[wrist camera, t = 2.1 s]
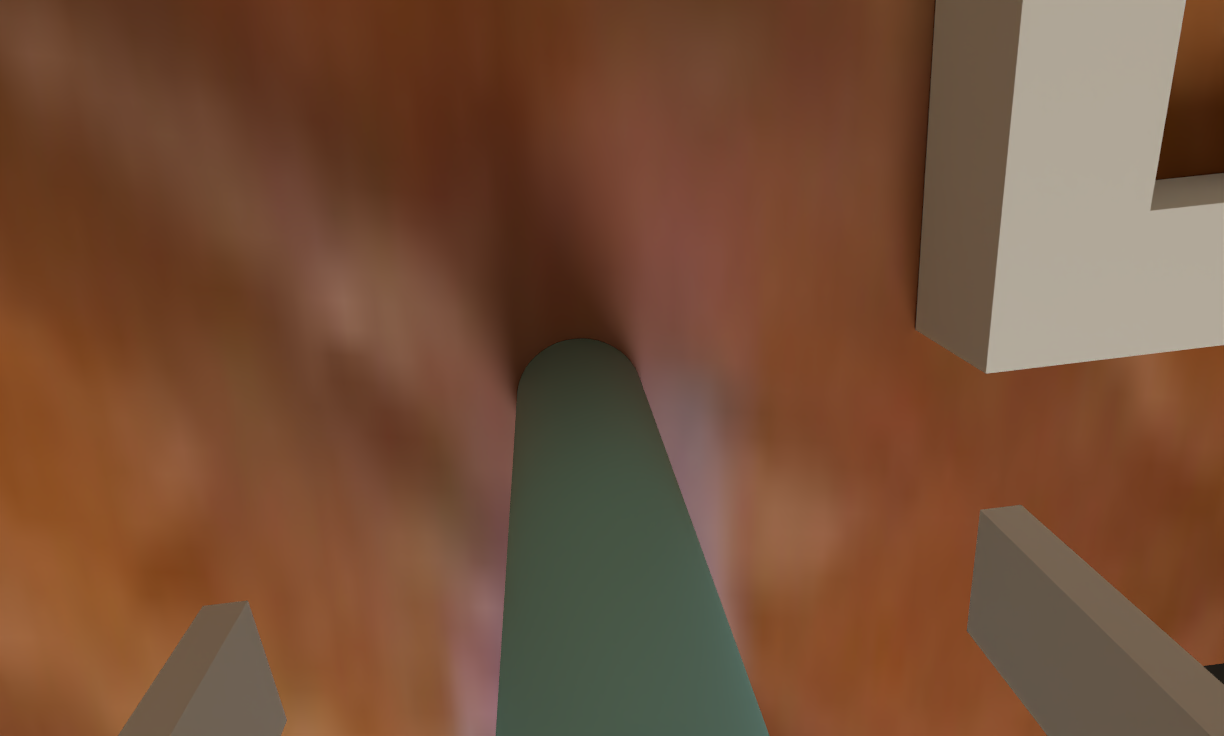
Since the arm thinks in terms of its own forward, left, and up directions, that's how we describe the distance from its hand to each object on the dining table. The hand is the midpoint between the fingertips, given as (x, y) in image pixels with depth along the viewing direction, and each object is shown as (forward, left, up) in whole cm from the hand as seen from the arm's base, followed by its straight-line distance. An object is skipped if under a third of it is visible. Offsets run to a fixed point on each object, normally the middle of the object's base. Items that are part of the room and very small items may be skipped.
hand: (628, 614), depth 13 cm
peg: (0, 0, -11) cm, 11 cm away
